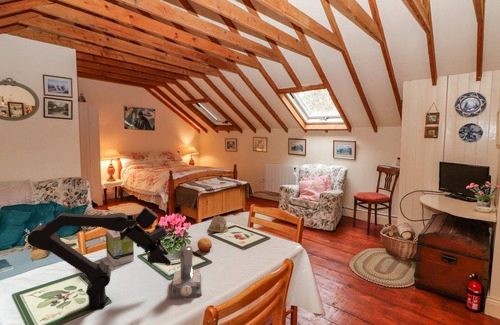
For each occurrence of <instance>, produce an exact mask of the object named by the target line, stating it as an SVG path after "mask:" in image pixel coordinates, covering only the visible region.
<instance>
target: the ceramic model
mask: <svg viewBox="0 0 500 325" xmlns="http://www.w3.org/2000/svg"><path fill="white" fill-rule="evenodd" d="M227 222H228V220H227V218H225V217H224V216H220V215H217V216H213V218H211V222H210V224H209V225H208V231H210V232H218V233H219V232H220V233H225V232H228V231H229V230H230V229H229V228H228V225H227Z"/></svg>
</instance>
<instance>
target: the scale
mask: <svg viewBox="0 0 500 325" xmlns="http://www.w3.org/2000/svg"><path fill="white" fill-rule="evenodd" d="M173 280H174V278H173V279H172V281H173ZM192 297H202V275H201V273H200V288H196V282H189V283H179V284H176V290H173V284H172V287H171V293H170V299H171V300H174V299H175V300H176V299H183V298H184V299H185V298H192Z"/></svg>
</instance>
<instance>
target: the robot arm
mask: <svg viewBox="0 0 500 325" xmlns="http://www.w3.org/2000/svg"><path fill="white" fill-rule="evenodd" d="M158 219H159V216H158V215H157V213H156V212H154V211H153V210H151V209H150V208H148V207H146V206H144V207H143V208H142V209H141V211H140V212H139V213H138V214H137V215H135V214H126V213H125V212H124V213H123V212H117V213H116V212H115V213H110V214H83V213H81V214H80V213H69V212H62V213H59V215H58V216H57V217H55V218H53V219H51V220H50V221H49V222H47V223H45V224H41V225H38V226H36V227H35V228H34V229H33V230H32V231H30V233H29V234H28V235H27V238H26V239H27V244H28V245H29V246H31V247H33V248H36V249H38V250H40V251H45V252H50V253H52V254H53V255H55V256H57V258H60V259H61V260H62V261H64V262H65V263H67V264H69V265H70V266H71V267H73V268H74V269H76V270H78V272H81V273H82V274H84V276H85V277H86V279H87V280H88V284H87V287H86V290H85V293H86V295H87V297H88V298H87V300H88V303H87V304H86V306H85V308H84V310H85V311H90V310H99V309H104V308H105V307H106V305H107V304H108V301H109V299H110V297H109V296H107V297H106V287H107V286H108V285H109V283H110V281H111V276H112V275H111V274H112V270H111V268H110V264H109V265H108V264H106V263H105V262H104V261H103V260H100V261H99V262H94V261H92V260H91V259H89V258H88V257H86V256H85V255H83V254H82V253H80V252H79V251H77V249H74V248H73V247H71V246H70V245H68V244H67V243H66V242H64V241H63V240H62V239H61V237H60V236H59V235H58V233H57V232H58V231H60V229H62V228H63V227H86V228H87V227H88V228H102V229H106V230H112V231H117V232H120V237H121V238H120V240H123V239H124V238H125V236H126V237H127V238H129V239H130V240H132V241H133V242H134V244H136V248H141V249H143V250H144V253H145V254H147V255H146V258H147V262H148V263H149V264H150V265H152V264H162V265H163V264H164V265H171V263H172V261H171V260H170V259H169V257H167V256H168V255H169V252H168V251H167V249H166V248H165V247H164V246H163V244H162V242H161V241H162V239H163V238H165V237H166V236H168V232H167V230H166V228H165V227H164V225H162V224H156V225H154V229H153V230H152V231H151V232H150V231H149V230H147V229H149V228H150V227H151V226H152V225H153V224H154V223H155V222H156V221H157V220H158ZM145 229H146V230H145Z"/></svg>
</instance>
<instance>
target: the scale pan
mask: <svg viewBox="0 0 500 325" xmlns="http://www.w3.org/2000/svg"><path fill="white" fill-rule="evenodd" d="M200 271H201V270H200V268H199V269H198V268H197V269H192V278H190V279H181V270H176V271H175V270H174V272H173V273H174V274H173V279H174V280H173V279H172V285H173V290H176V284H179V283H189V282H196V288H200V274H201V272H200Z"/></svg>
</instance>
